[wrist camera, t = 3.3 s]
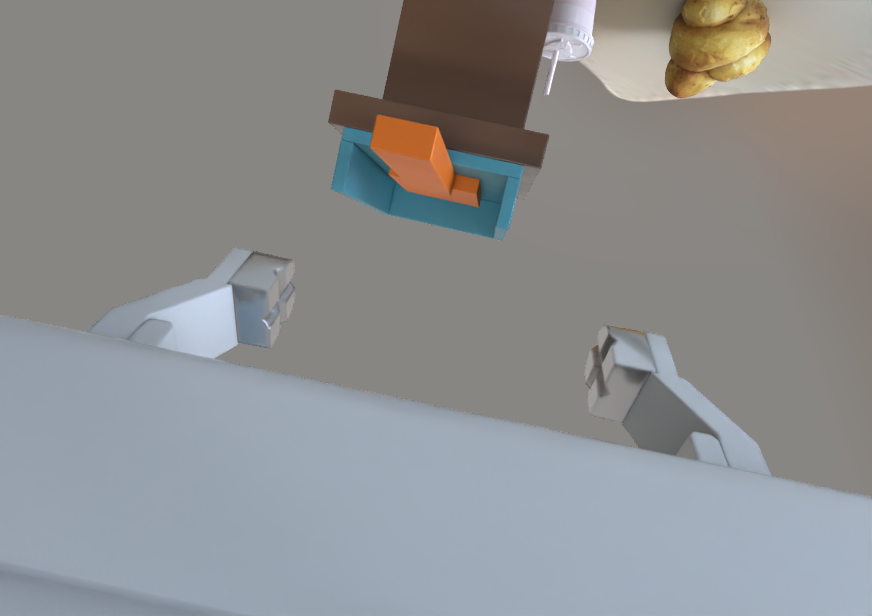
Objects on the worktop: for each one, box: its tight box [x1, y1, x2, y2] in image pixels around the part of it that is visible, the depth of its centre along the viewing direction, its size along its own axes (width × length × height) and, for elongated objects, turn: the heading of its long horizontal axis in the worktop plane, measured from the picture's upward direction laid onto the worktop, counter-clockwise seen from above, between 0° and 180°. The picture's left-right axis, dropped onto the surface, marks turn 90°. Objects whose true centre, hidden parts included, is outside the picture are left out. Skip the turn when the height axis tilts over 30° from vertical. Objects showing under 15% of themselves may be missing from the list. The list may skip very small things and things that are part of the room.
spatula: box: [370, 115, 482, 207], centre depth 33 cm, size 20×6×2 cm, turn 6°
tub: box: [331, 127, 524, 240], centre depth 39 cm, size 15×11×4 cm
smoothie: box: [542, 0, 596, 96], centre depth 51 cm, size 6×6×14 cm
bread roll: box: [665, 0, 771, 98], centre depth 55 cm, size 13×10×8 cm
